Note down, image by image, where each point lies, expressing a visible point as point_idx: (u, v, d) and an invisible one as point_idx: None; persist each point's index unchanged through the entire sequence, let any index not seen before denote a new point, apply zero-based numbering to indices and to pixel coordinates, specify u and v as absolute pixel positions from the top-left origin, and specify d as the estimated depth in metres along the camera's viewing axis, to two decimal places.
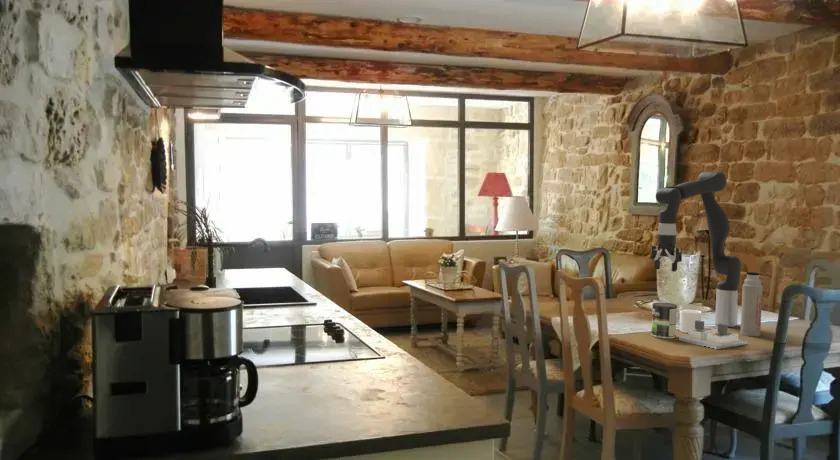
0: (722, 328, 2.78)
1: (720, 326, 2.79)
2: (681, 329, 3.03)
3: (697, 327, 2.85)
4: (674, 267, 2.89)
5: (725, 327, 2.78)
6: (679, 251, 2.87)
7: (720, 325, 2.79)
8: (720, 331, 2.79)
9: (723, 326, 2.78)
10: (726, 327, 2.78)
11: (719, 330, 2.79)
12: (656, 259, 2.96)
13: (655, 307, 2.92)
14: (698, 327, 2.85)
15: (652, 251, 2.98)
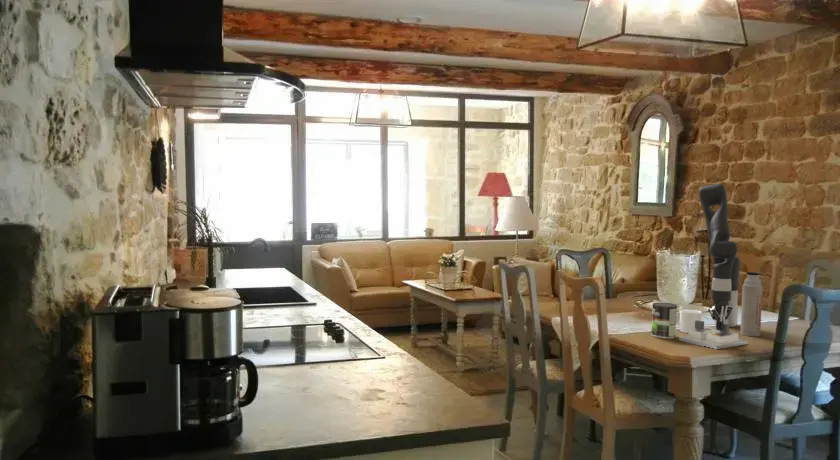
0: (724, 328, 2.79)
1: None
2: (681, 329, 3.03)
3: (697, 327, 2.85)
4: (722, 325, 2.78)
5: (727, 326, 2.78)
6: None
7: None
8: (722, 331, 2.80)
9: (725, 326, 2.78)
10: (728, 327, 2.79)
11: (721, 330, 2.80)
12: (722, 319, 2.77)
13: (655, 307, 2.92)
14: (698, 327, 2.85)
15: (716, 314, 2.75)
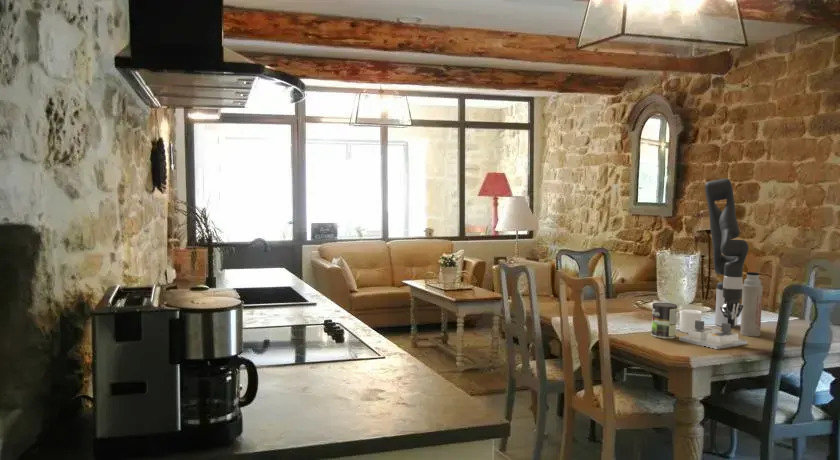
0: (726, 327, 2.79)
1: (724, 325, 2.80)
2: (681, 329, 3.03)
3: (697, 327, 2.85)
4: None
5: (729, 326, 2.79)
6: None
7: (724, 324, 2.80)
8: (724, 330, 2.80)
9: (727, 325, 2.79)
10: (730, 326, 2.79)
11: (723, 329, 2.81)
12: (733, 316, 2.80)
13: (655, 307, 2.92)
14: (698, 327, 2.85)
15: (727, 312, 2.78)
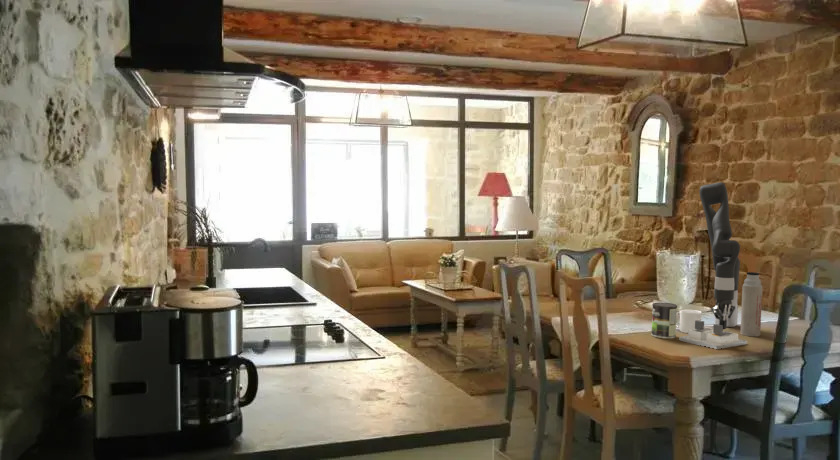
0: (717, 329, 2.77)
1: (715, 327, 2.77)
2: (681, 329, 3.03)
3: (697, 327, 2.85)
4: (726, 324, 2.79)
5: (721, 327, 2.76)
6: None
7: (715, 326, 2.77)
8: (715, 332, 2.77)
9: (718, 327, 2.76)
10: (721, 328, 2.76)
11: (714, 331, 2.78)
12: (725, 318, 2.77)
13: (655, 307, 2.92)
14: (698, 327, 2.85)
15: (719, 313, 2.75)
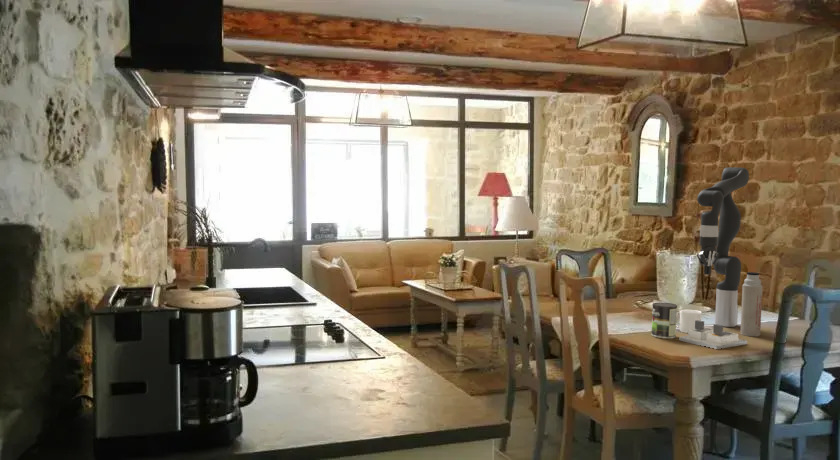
0: (717, 329, 2.77)
1: (715, 327, 2.77)
2: (681, 329, 3.03)
3: (697, 327, 2.85)
4: None
5: (721, 327, 2.76)
6: None
7: (715, 326, 2.77)
8: (715, 332, 2.77)
9: (718, 327, 2.76)
10: (721, 328, 2.76)
11: (714, 331, 2.78)
12: (709, 263, 2.96)
13: (655, 307, 2.92)
14: (698, 327, 2.85)
15: (704, 258, 2.94)
